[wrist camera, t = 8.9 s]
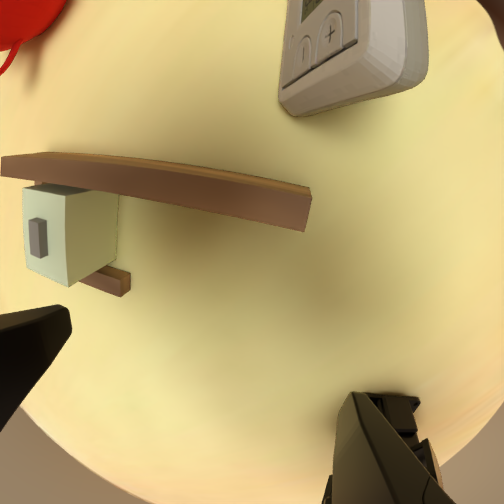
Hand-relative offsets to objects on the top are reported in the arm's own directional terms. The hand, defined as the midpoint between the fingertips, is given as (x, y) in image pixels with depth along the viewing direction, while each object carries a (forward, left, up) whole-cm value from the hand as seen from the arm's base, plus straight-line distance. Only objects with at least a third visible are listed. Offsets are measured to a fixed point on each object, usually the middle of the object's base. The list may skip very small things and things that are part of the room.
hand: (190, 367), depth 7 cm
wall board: (-1, +9, -12) cm, 15 cm away
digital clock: (+17, -2, -13) cm, 21 cm away
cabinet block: (-1, +14, -12) cm, 18 cm away
